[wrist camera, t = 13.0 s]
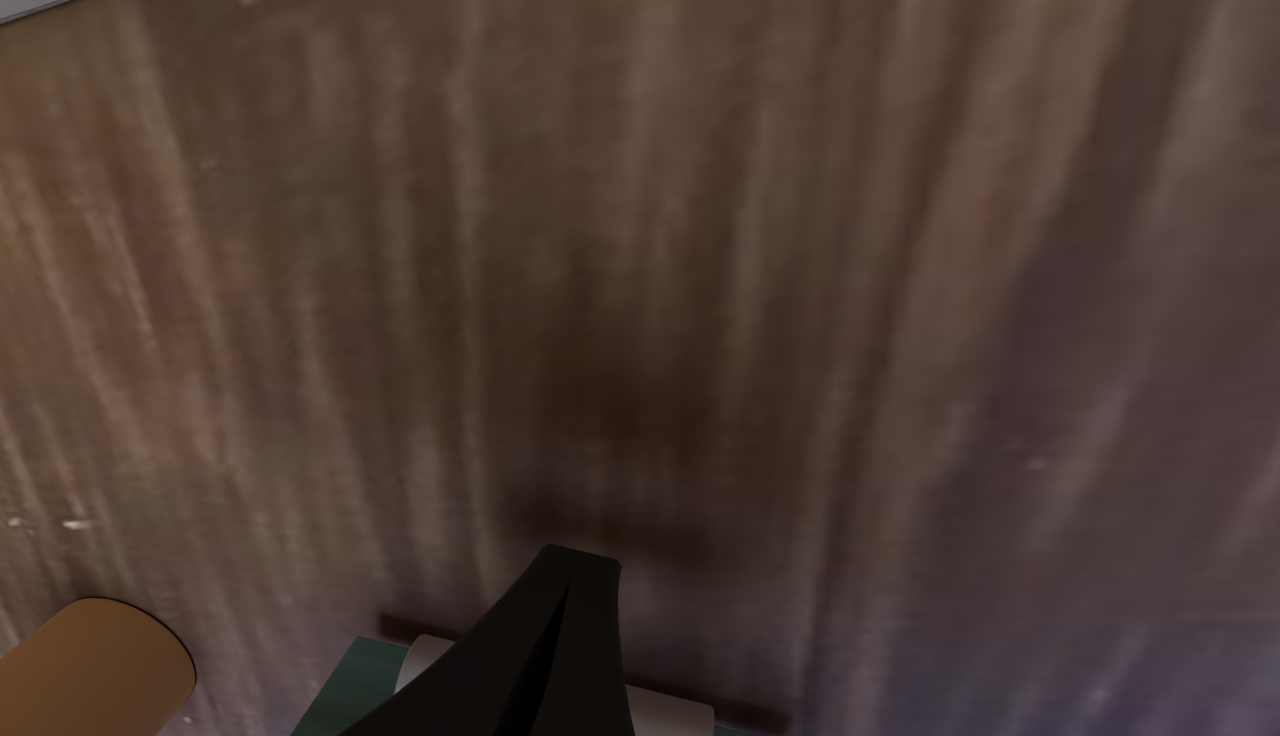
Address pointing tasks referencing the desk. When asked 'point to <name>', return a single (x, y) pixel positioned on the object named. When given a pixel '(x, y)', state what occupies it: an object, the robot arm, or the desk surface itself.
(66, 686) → the paper roll
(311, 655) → the desk surface
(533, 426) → the desk surface
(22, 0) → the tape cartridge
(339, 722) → the drawer
